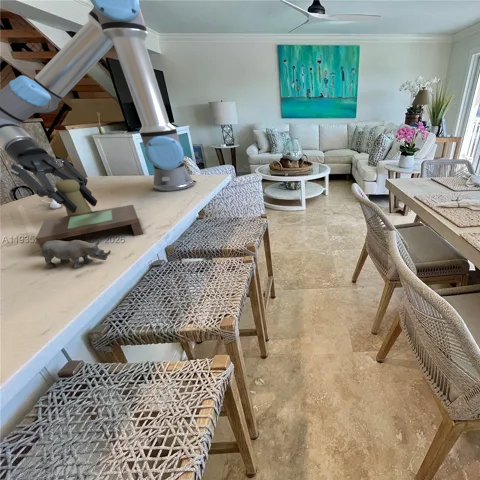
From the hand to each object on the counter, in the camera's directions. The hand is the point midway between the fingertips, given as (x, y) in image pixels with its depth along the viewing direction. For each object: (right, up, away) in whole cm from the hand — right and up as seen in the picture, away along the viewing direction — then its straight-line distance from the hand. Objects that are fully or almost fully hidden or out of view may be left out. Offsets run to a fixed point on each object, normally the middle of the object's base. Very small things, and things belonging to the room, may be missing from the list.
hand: (85, 206), depth 79 cm
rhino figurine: (+18, -16, -20) cm, 31 cm away
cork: (-3, -3, +3) cm, 5 cm away
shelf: (+10, -9, -7) cm, 15 cm away
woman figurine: (-24, +4, +18) cm, 30 cm away
